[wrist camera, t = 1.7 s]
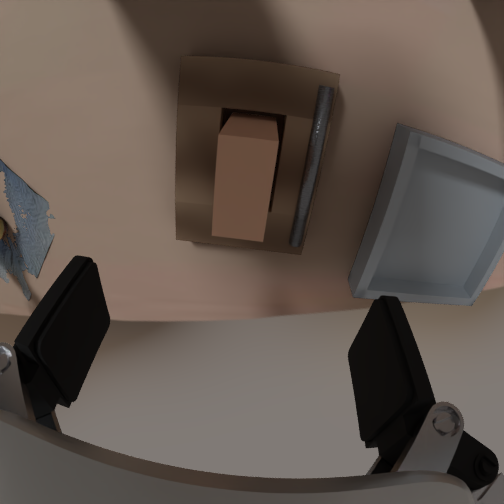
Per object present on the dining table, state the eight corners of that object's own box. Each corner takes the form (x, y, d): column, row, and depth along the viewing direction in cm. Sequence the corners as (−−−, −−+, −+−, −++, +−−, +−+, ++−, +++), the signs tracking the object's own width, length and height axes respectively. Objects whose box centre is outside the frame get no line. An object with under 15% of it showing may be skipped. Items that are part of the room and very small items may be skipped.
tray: (397, 123, 20) (410, 131, 17) (519, 171, 20) (534, 182, 18) (347, 279, 28) (353, 297, 26) (463, 290, 29) (471, 305, 27)
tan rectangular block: (233, 112, 20) (218, 134, 14) (275, 117, 20) (278, 141, 14) (226, 187, 24) (211, 235, 18) (264, 192, 24) (263, 241, 18)
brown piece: (188, 56, 18) (179, 55, 16) (333, 73, 18) (341, 74, 16) (181, 226, 26) (174, 243, 24) (299, 240, 26) (301, 258, 24)
